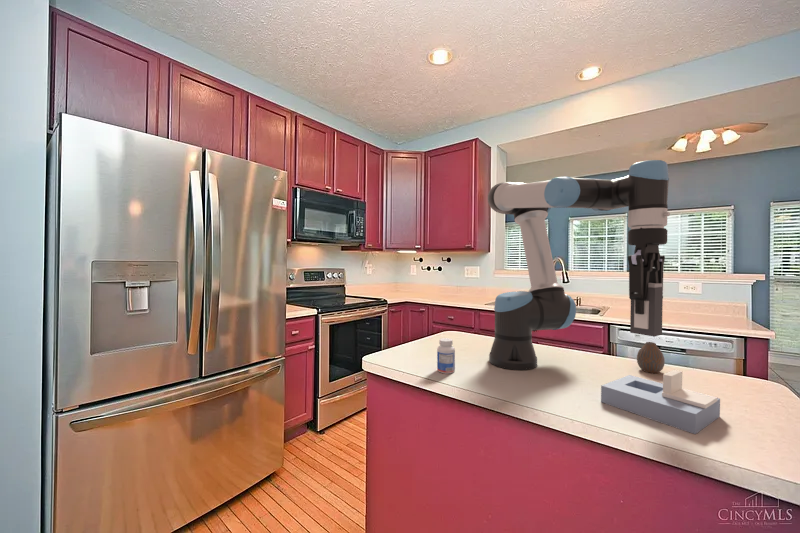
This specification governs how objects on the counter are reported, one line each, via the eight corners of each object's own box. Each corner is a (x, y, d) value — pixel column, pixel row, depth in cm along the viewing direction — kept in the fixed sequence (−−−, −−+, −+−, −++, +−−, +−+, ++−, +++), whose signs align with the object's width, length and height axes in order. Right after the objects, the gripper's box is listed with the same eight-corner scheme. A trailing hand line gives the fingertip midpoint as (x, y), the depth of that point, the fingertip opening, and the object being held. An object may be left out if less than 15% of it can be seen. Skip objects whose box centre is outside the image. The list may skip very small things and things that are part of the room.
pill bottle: (441, 367, 109) (441, 336, 109) (457, 369, 106) (457, 338, 106) (434, 372, 104) (434, 340, 104) (451, 375, 102) (451, 342, 101)
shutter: (661, 396, 76) (662, 374, 76) (674, 389, 80) (675, 369, 79) (705, 408, 69) (705, 385, 69) (717, 401, 73) (717, 378, 73)
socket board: (601, 401, 83) (601, 385, 82) (629, 389, 90) (629, 374, 90) (695, 434, 67) (695, 414, 67) (719, 416, 75) (720, 398, 75)
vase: (639, 373, 103) (640, 344, 103) (634, 366, 110) (634, 339, 110) (667, 376, 101) (668, 346, 101) (660, 369, 107) (660, 341, 107)
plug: (630, 332, 82) (630, 282, 82) (638, 330, 84) (638, 282, 84) (654, 336, 78) (655, 284, 78) (662, 334, 80) (662, 283, 80)
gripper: (649, 225, 73) (647, 334, 74) (681, 228, 82) (679, 325, 83) (611, 227, 79) (610, 328, 80) (645, 230, 89) (644, 321, 89)
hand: (645, 326), depth 81 cm, fingers closed on plug, 4 cm apart
